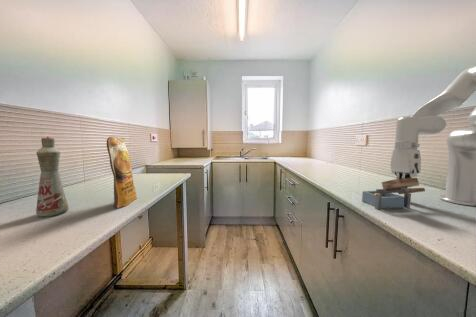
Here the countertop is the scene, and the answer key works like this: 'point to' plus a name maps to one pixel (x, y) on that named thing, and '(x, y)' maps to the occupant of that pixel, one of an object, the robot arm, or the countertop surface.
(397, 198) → the blue-grey open box
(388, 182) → the lever
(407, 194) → the stand
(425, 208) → the countertop surface
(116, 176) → the pancake mix bag
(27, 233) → the countertop surface
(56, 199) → the bottle
